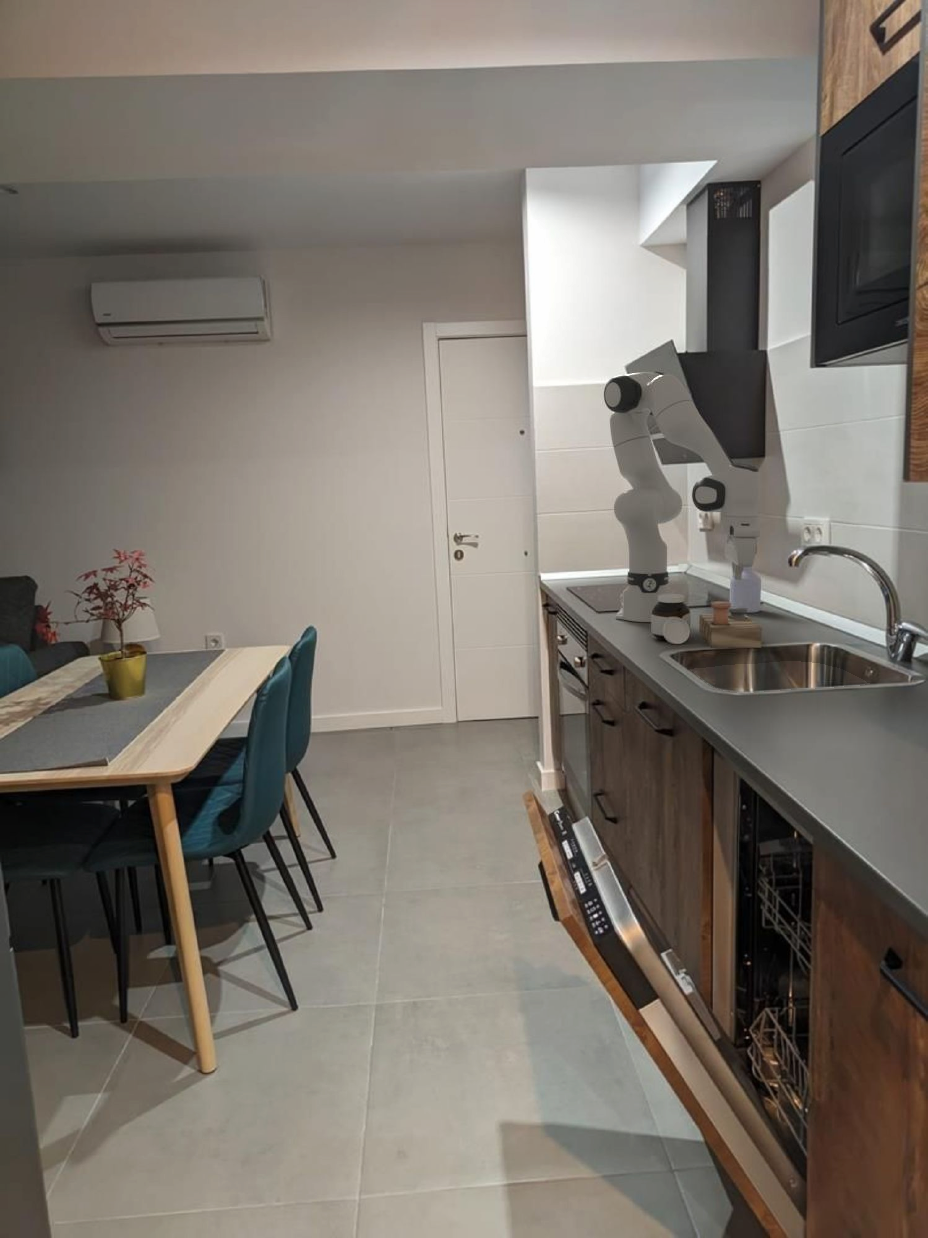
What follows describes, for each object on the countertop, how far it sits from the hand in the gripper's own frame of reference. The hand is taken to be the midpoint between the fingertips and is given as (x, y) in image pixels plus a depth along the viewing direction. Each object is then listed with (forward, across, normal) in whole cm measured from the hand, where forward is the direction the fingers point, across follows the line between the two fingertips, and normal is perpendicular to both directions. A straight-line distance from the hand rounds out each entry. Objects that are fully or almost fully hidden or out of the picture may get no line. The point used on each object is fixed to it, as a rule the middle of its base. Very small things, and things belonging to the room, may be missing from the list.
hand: (736, 579), depth 223 cm
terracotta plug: (+12, +10, -5) cm, 16 cm away
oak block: (+15, +5, -2) cm, 16 cm away
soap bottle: (+16, -38, +11) cm, 43 cm away
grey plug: (+15, +1, +1) cm, 15 cm away
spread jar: (+16, +6, -16) cm, 24 cm away
